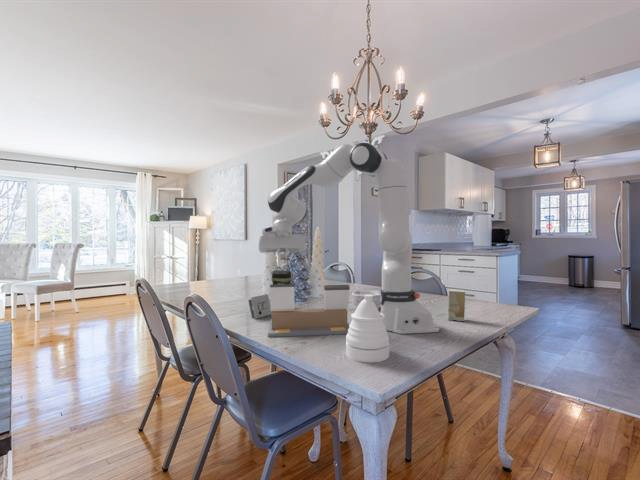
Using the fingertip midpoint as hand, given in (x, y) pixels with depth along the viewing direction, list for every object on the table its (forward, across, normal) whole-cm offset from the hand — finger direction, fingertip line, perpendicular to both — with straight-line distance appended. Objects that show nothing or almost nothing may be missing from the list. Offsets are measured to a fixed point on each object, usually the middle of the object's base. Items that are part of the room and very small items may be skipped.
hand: (283, 258), depth 138 cm
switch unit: (+29, -9, -5) cm, 31 cm away
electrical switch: (+14, +10, -23) cm, 29 cm away
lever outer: (+24, +1, -1) cm, 24 cm away
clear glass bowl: (+11, -40, -27) cm, 49 cm away
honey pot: (+48, -24, +16) cm, 55 cm away
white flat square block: (+24, -19, 0) cm, 31 cm away
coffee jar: (+6, 0, -33) cm, 34 cm away
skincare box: (+28, -70, -8) cm, 76 cm away
